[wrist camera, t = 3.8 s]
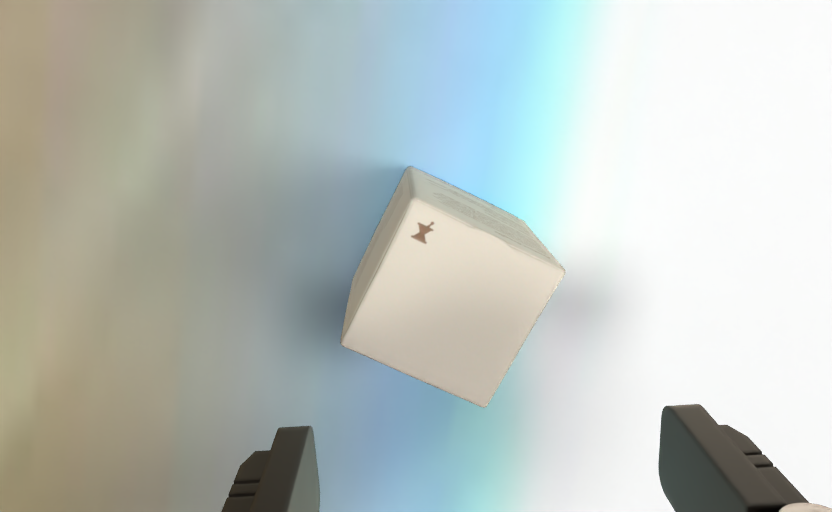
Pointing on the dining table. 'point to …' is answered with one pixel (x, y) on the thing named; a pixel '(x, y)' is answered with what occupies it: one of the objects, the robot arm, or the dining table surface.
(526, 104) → the dining table surface
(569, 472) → the dining table surface
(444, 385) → the product box
